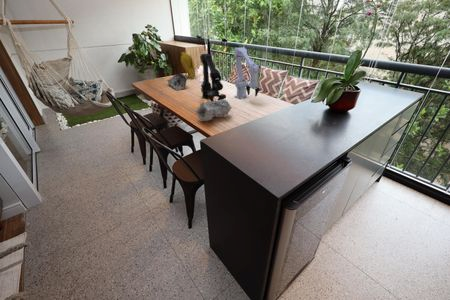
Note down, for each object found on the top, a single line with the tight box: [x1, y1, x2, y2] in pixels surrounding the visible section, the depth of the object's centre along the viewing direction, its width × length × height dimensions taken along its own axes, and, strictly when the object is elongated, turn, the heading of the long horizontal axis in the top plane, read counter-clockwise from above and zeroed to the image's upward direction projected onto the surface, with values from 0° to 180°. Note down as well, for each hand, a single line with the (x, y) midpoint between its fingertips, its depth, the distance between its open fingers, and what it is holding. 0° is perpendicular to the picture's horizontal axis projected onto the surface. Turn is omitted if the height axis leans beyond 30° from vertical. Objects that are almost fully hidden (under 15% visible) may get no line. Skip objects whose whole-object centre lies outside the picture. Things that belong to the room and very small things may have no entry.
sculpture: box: [180, 51, 196, 79], centre depth 254 cm, size 20×27×30 cm
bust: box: [195, 99, 232, 123], centre depth 155 cm, size 17×17×28 cm
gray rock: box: [166, 72, 188, 91], centre depth 228 cm, size 19×8×30 cm
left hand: (215, 104), depth 180 cm, fingers open, 7 cm apart
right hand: (252, 95), depth 184 cm, fingers open, 7 cm apart
